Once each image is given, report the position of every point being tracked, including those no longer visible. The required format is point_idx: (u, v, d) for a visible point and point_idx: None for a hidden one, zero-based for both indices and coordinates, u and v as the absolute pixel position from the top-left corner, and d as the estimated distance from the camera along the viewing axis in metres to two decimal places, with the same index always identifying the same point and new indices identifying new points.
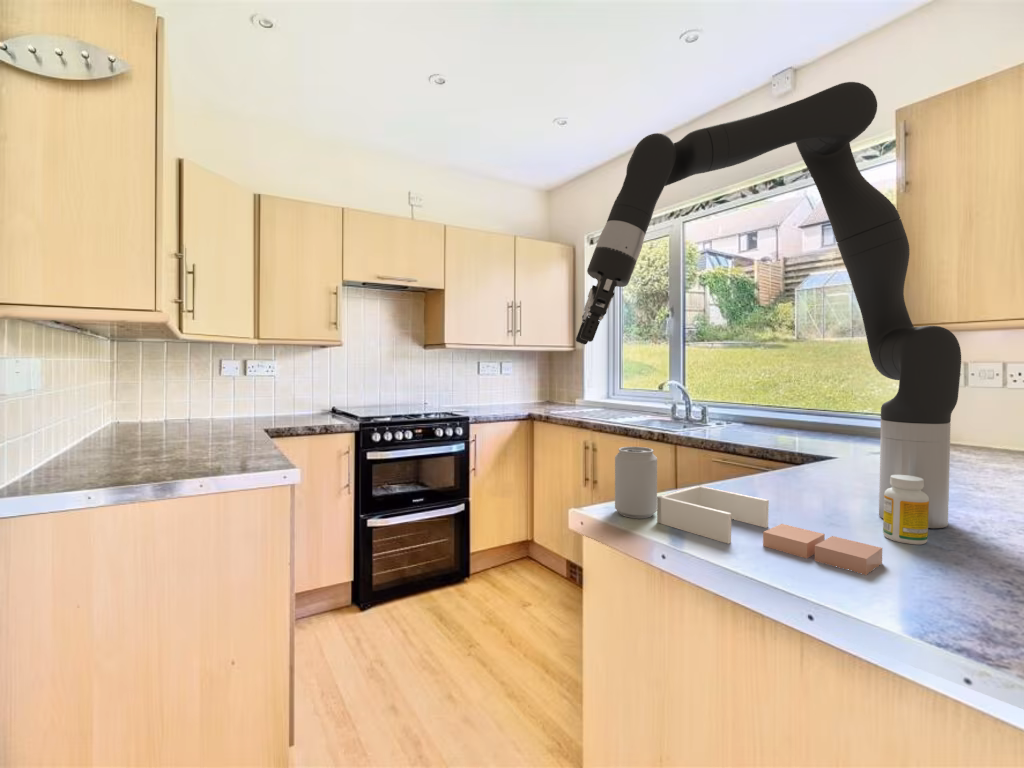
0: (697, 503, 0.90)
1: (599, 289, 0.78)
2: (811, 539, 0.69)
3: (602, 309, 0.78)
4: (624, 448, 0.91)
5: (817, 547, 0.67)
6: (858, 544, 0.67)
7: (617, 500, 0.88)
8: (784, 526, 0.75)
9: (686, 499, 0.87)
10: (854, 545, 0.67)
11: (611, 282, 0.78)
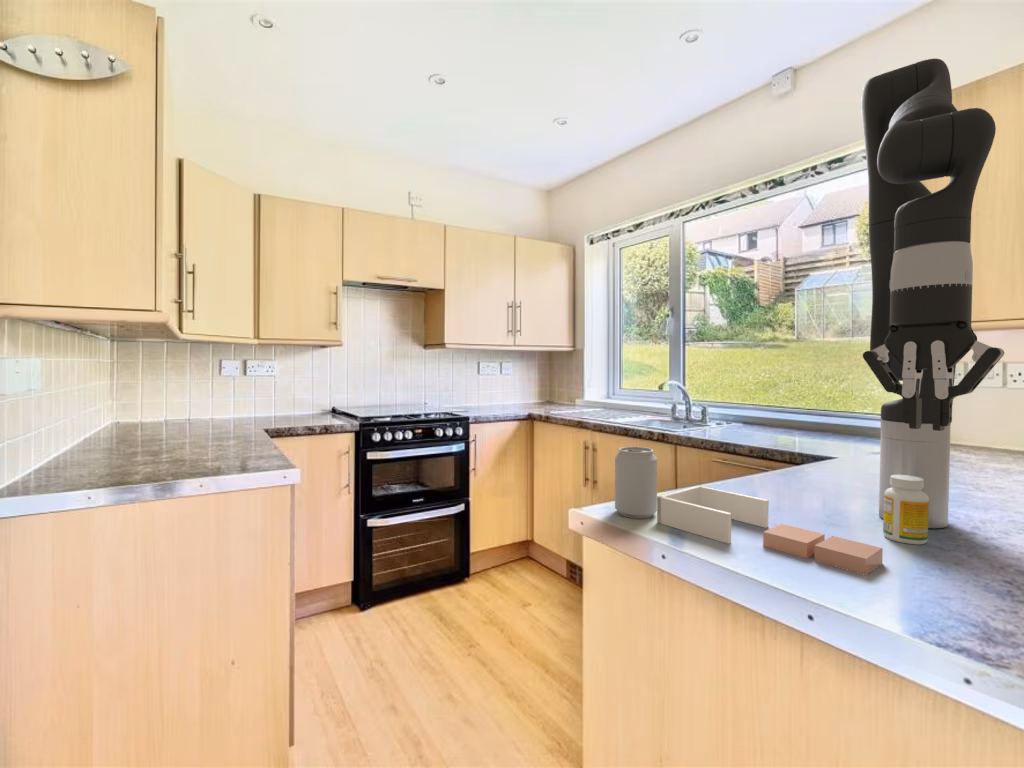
0: (697, 503, 0.90)
1: (987, 368, 0.54)
2: (811, 539, 0.69)
3: None
4: (624, 448, 0.91)
5: (817, 547, 0.67)
6: (858, 544, 0.67)
7: (617, 500, 0.88)
8: (784, 526, 0.75)
9: (686, 499, 0.87)
10: (854, 545, 0.67)
11: (1001, 355, 0.54)
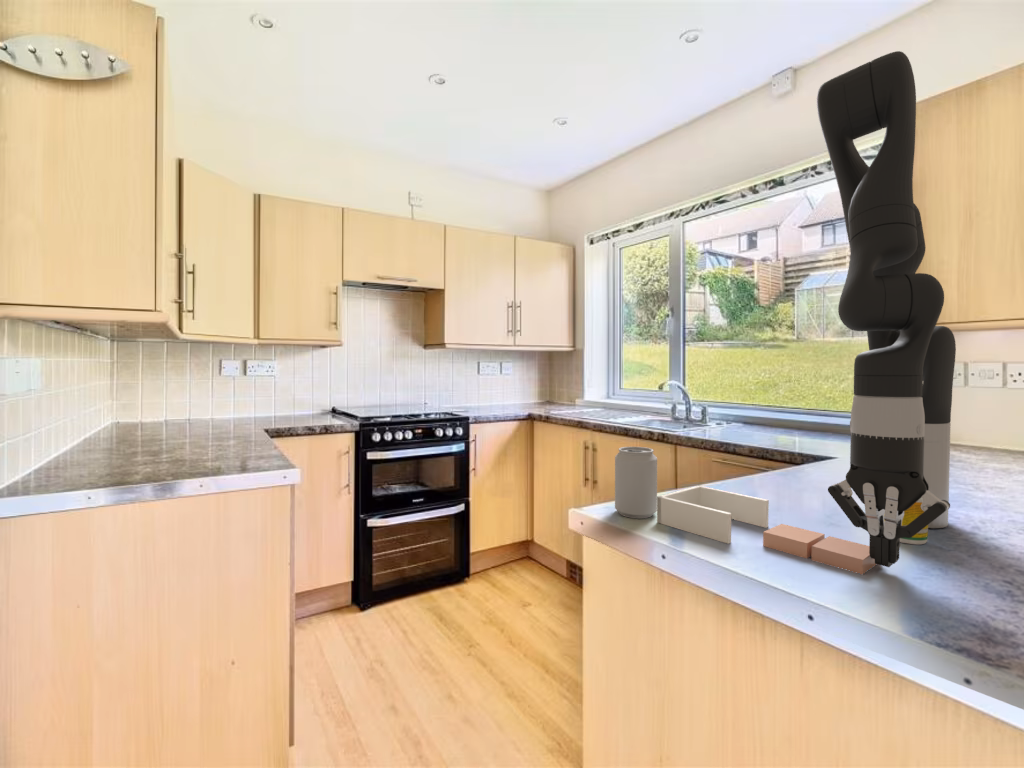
0: (697, 503, 0.90)
1: (932, 521, 0.58)
2: (811, 539, 0.69)
3: None
4: (624, 448, 0.91)
5: (814, 547, 0.67)
6: (855, 545, 0.67)
7: (618, 500, 0.88)
8: (784, 526, 0.75)
9: (686, 499, 0.87)
10: (851, 546, 0.67)
11: (947, 509, 0.58)
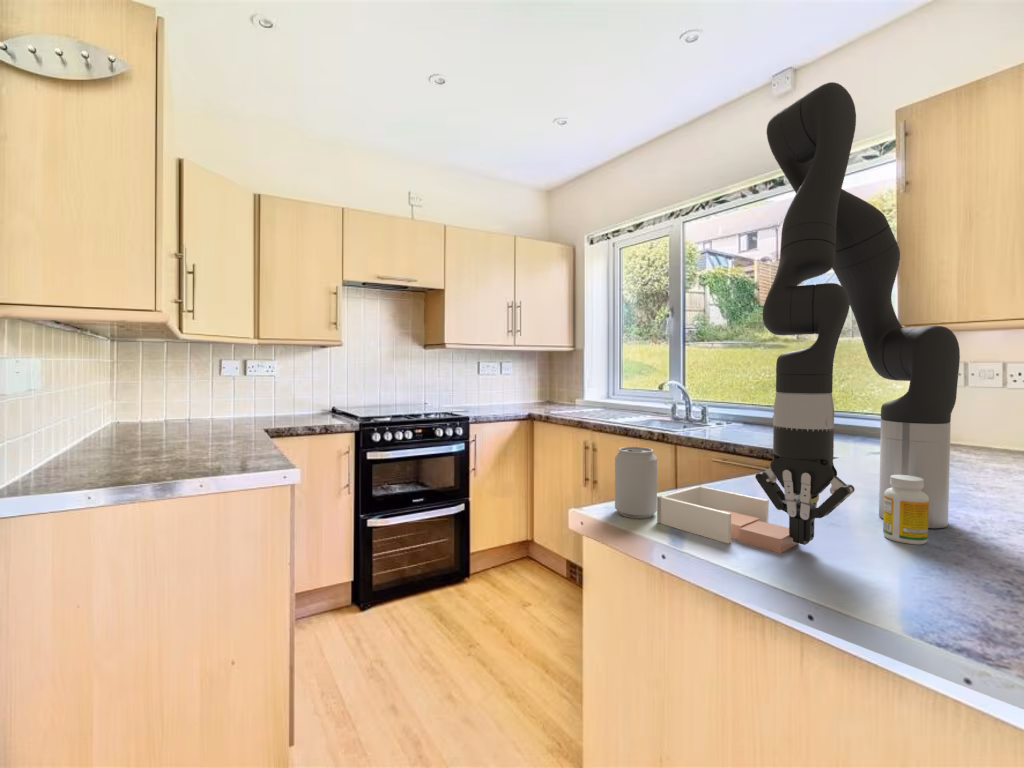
0: (697, 503, 0.90)
1: (838, 502, 0.66)
2: (746, 522, 0.76)
3: None
4: (624, 448, 0.91)
5: (741, 529, 0.74)
6: (778, 527, 0.74)
7: (617, 500, 0.88)
8: None
9: (686, 499, 0.87)
10: (774, 528, 0.74)
11: (851, 492, 0.66)
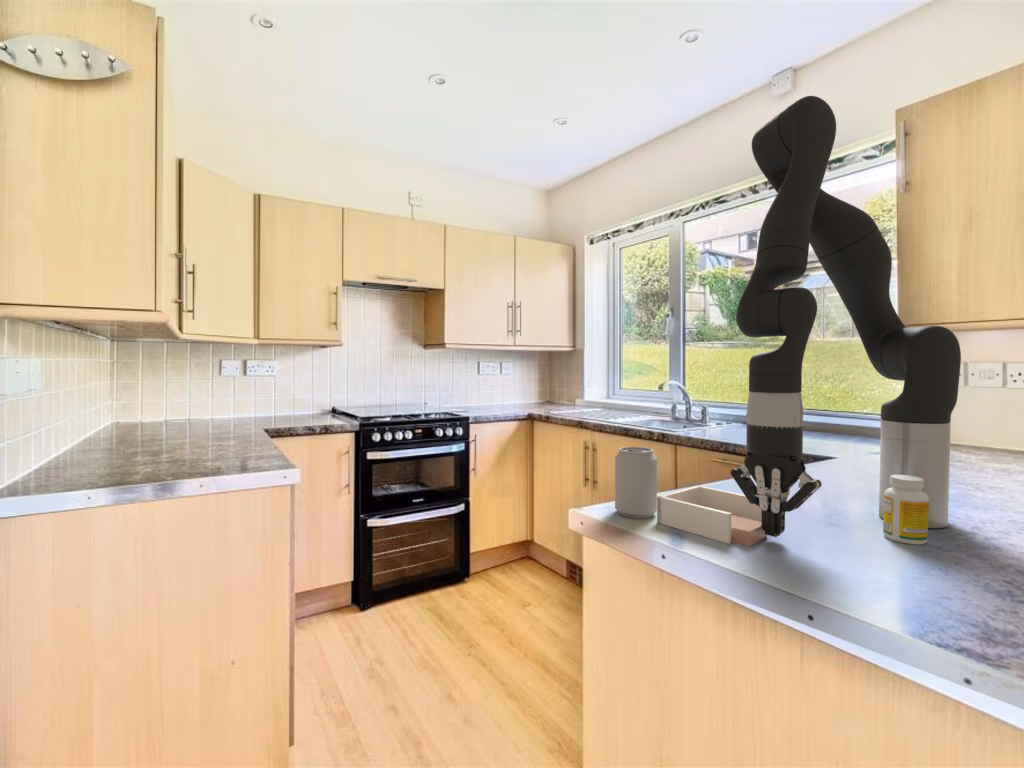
0: (697, 503, 0.90)
1: (805, 496, 0.69)
2: None
3: (797, 504, 0.72)
4: (624, 448, 0.91)
5: None
6: (748, 521, 0.77)
7: (617, 500, 0.88)
8: None
9: (686, 499, 0.87)
10: (744, 521, 0.77)
11: (818, 487, 0.69)
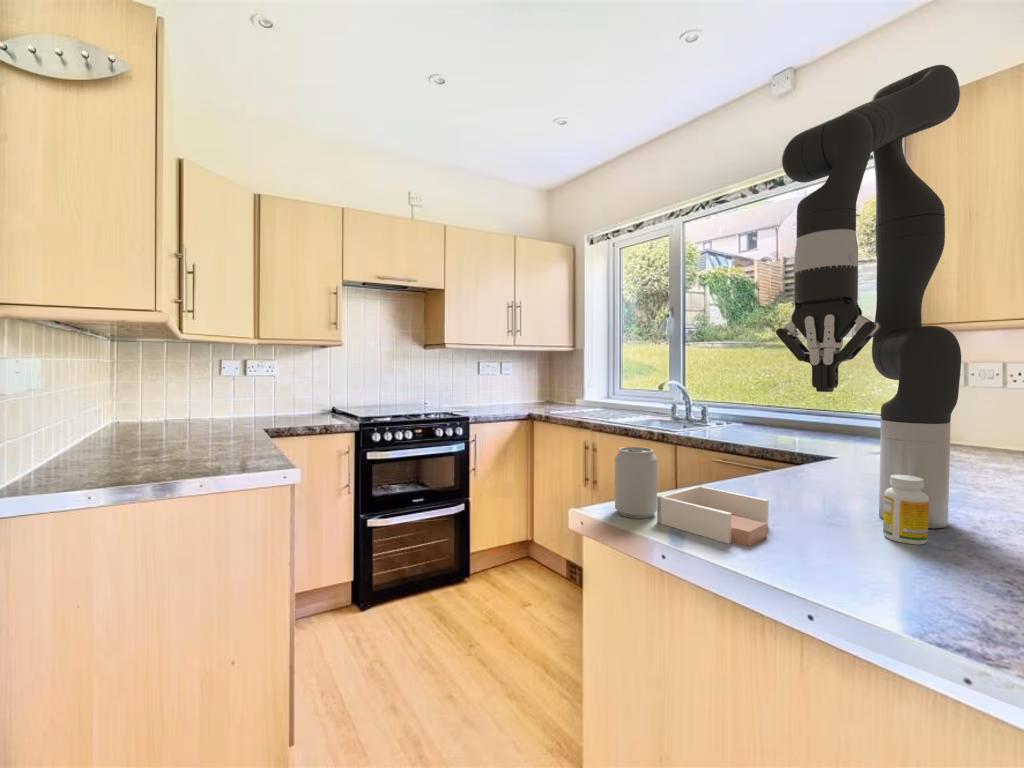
0: (697, 503, 0.90)
1: (863, 339, 0.64)
2: None
3: (852, 353, 0.66)
4: (624, 448, 0.91)
5: None
6: (748, 521, 0.77)
7: (617, 500, 0.88)
8: None
9: (686, 499, 0.87)
10: (744, 521, 0.77)
11: (877, 328, 0.64)
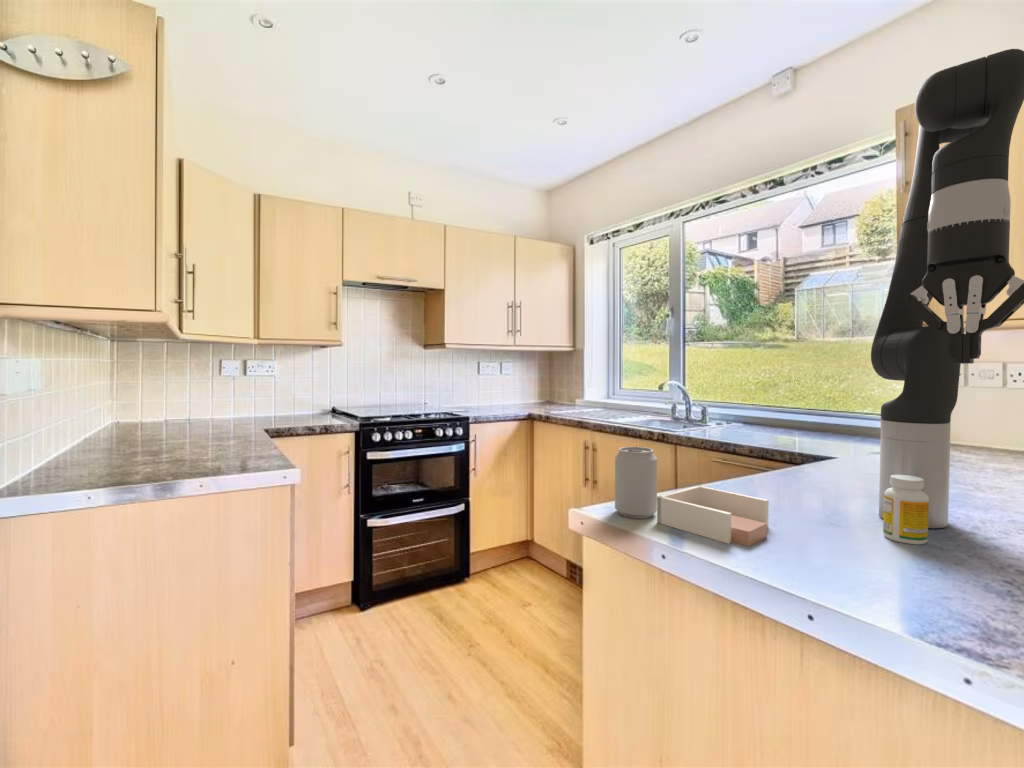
0: (697, 503, 0.90)
1: (1020, 302, 0.57)
2: None
3: None
4: (624, 448, 0.91)
5: None
6: (748, 521, 0.77)
7: (617, 500, 0.88)
8: None
9: (686, 499, 0.87)
10: (744, 521, 0.77)
11: None
